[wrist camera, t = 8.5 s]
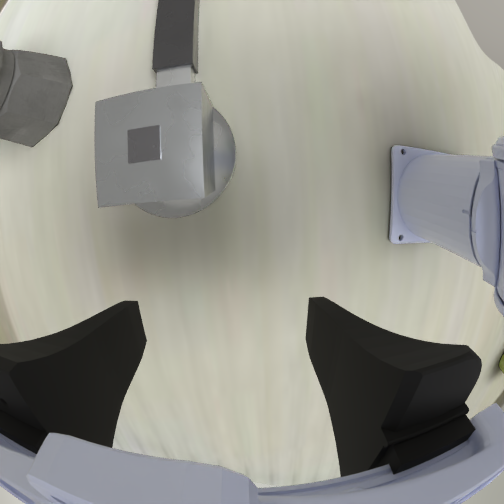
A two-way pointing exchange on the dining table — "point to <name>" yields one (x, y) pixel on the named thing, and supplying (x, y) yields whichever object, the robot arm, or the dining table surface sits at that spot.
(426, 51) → the dining table surface
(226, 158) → the ratchet
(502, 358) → the plant pot
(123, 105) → the grey cube
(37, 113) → the coffeepot
